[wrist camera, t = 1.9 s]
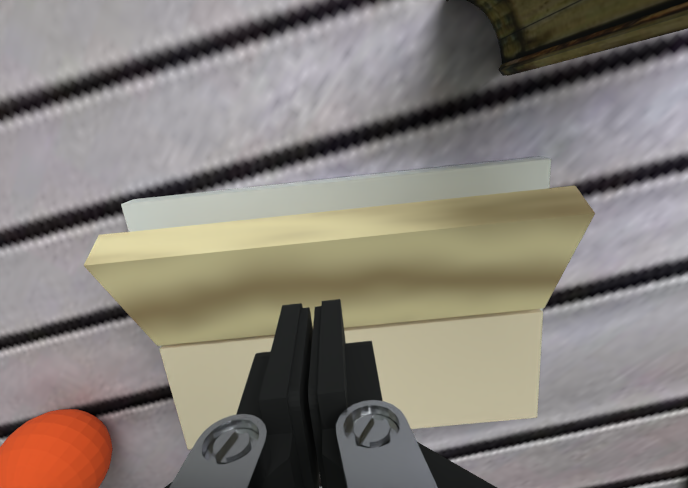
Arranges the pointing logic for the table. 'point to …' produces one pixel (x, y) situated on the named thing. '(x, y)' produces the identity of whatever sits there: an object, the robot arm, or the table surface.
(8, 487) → the clementine
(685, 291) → the table surface
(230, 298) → the honey plank
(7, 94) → the table surface
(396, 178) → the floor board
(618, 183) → the table surface
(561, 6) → the book
